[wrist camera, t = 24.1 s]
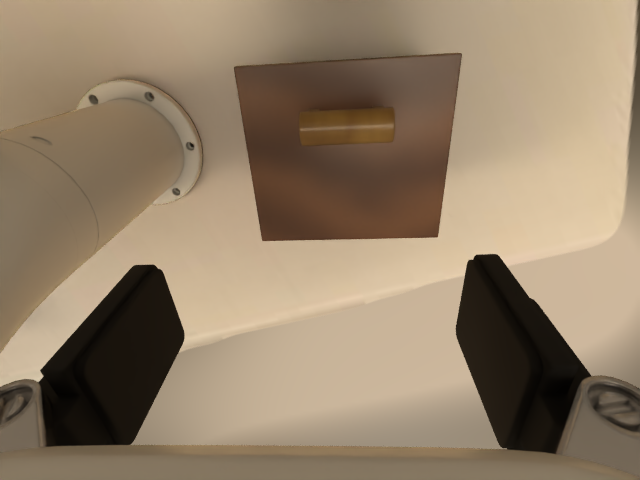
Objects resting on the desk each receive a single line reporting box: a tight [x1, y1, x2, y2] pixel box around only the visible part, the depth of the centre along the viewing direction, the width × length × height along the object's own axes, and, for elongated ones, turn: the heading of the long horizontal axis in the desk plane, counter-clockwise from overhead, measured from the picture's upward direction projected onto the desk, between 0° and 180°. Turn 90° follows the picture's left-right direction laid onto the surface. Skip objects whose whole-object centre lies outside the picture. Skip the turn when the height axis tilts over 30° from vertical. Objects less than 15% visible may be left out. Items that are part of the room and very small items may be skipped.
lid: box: [234, 53, 462, 241], centre depth 22 cm, size 12×14×6 cm
